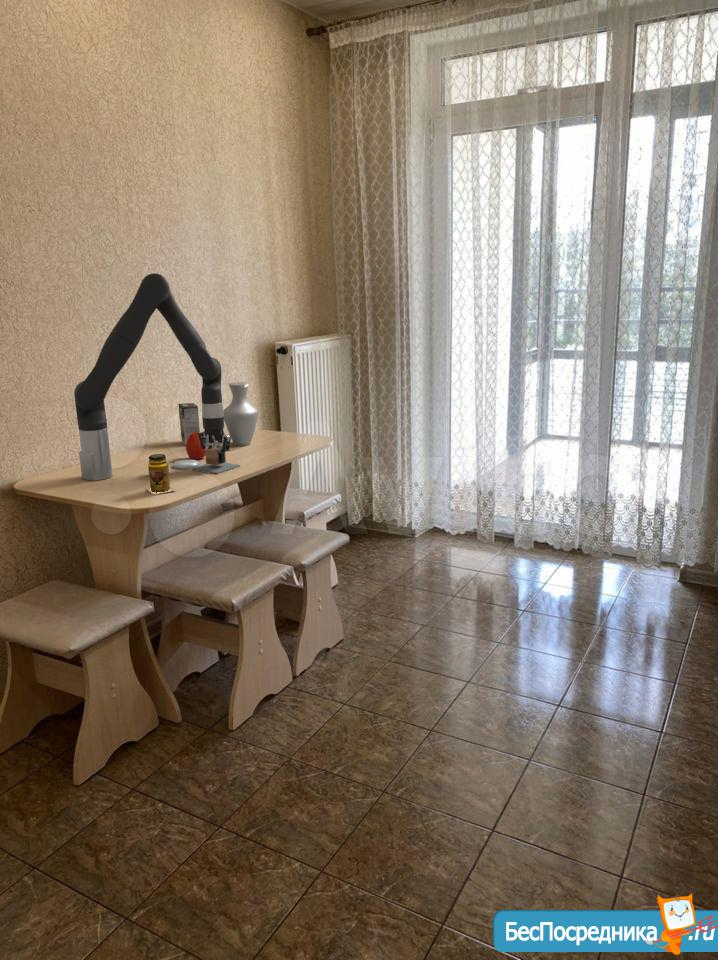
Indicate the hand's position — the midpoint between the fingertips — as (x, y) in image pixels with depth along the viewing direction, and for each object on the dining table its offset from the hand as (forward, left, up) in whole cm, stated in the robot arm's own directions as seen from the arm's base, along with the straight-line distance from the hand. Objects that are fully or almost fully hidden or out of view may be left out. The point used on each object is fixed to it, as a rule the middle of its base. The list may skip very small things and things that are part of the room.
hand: (216, 461), depth 257 cm
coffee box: (+25, +37, -3) cm, 45 cm away
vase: (+34, +17, -3) cm, 38 cm away
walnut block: (0, 0, 0) cm, 0 cm away
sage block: (-17, +11, -3) cm, 20 cm away
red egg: (+7, +16, -3) cm, 18 cm away
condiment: (-30, -3, -3) cm, 30 cm away
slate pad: (0, 0, -2) cm, 2 cm away
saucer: (-3, +12, -2) cm, 13 cm away
